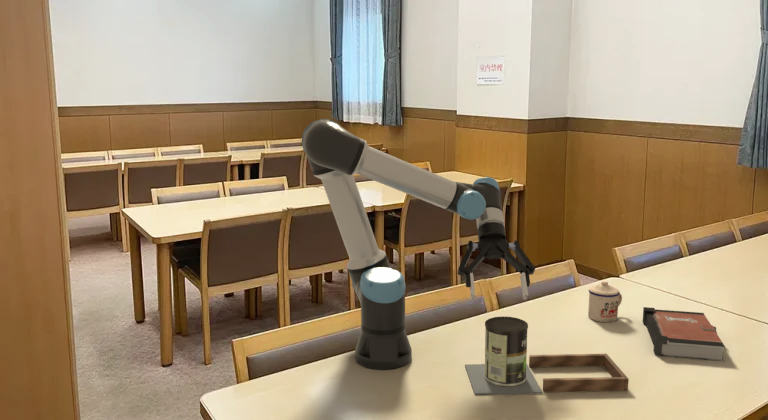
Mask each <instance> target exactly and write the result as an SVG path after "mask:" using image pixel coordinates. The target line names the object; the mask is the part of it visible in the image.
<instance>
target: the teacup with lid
mask: <svg viewBox="0 0 768 420" xmlns="http://www.w3.org/2000/svg"><path fill="white" fill-rule="evenodd" d="M622 301H623V295H622V294H621V292H620V290H619V289H618V288H617V287H615V286H613V285H611V284H609V282H608V281H607V280H601V282H600V283H598V284H596V285H592V286H590V287H589V289H588V309H587V311H588V312H587V316H588V318H589V319H591V320H592V321H596V322H600V323H612V322H614V321H617V320H618V315H619V307H620V305H621V304H622Z"/></svg>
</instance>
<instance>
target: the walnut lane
mask: <svg viewBox="0 0 768 420" xmlns="http://www.w3.org/2000/svg"><path fill="white" fill-rule="evenodd" d="M528 360H529V361H528V367H529V369H531V368H535V369H536V368H579V367H580V368H583V367H585V368H586V367H589V368H590V367H591V368H592V367H604V369H605V370H606V372H608V374H609V375H610V376H607V377H605V376H604V377H601V376H600V377H599V376H598V377H561V378H559V377H554V378H553V377H550V378H549V377H547V378H542V392H543V393H565V392H566V393H567V392H568V393H569V392H572V393H573V392H576V393H577V392H620V391H622V392H626V391H629V377H627V375H626V374H625V373H624V372H623V370H622V369H621V368H620V367H619V366H618V365H617V363H615V361H614V360H613V359H612V358H611V357H610V356H609V354H608V353H576V354H574V353H572V354H568V353H567V354H561V353H560V354H529V357H528Z"/></svg>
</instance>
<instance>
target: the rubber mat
mask: <svg viewBox="0 0 768 420" xmlns="http://www.w3.org/2000/svg"><path fill="white" fill-rule="evenodd" d="M464 367H465V370H466V372H467V373H466V374H467V376H468V378H469V382H470V384H471V388H472V391H473V394H474V395H475V396H481V395H482V396H483V395H484V396H487V395H489V396H490V395H491V396H493V395H539V394H540V395H541V394H542V395H543V393H544V392H543V389H541V386H540V385H539V383H538V381H537V380H536V378H535V376H534V374H533V372H532V370H531V368H530V367H529V364H527V362H526V381H525V382H524V383H523V384H521V385H518V386H499V385H495V384H492V383H490V382H488V381H487V380H486V379H485V377H484V375H485V363H478V364H475V363H473V364H471V363H470V364H469V363H468V364H464Z"/></svg>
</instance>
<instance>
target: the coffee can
mask: <svg viewBox="0 0 768 420" xmlns="http://www.w3.org/2000/svg"><path fill="white" fill-rule="evenodd" d="M484 327H485V335H484V337H485V338H484V339H485V340H484V343H485V345H484V346H485V347H484V364H485V375H484V377H485V379H486V380H487V381H488V382H490V383H492V384H495V385H499V386H518V385H521V384H523V383H524V382H525V381H526V363H527V358H528V357H527V353H528V351H527V350H528V348H527V347H528V329H529V324H528V322H527V321H525V320H523V319H521V318H519V317H512V316H494V317H491V318H488V319H485V322H484Z"/></svg>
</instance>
